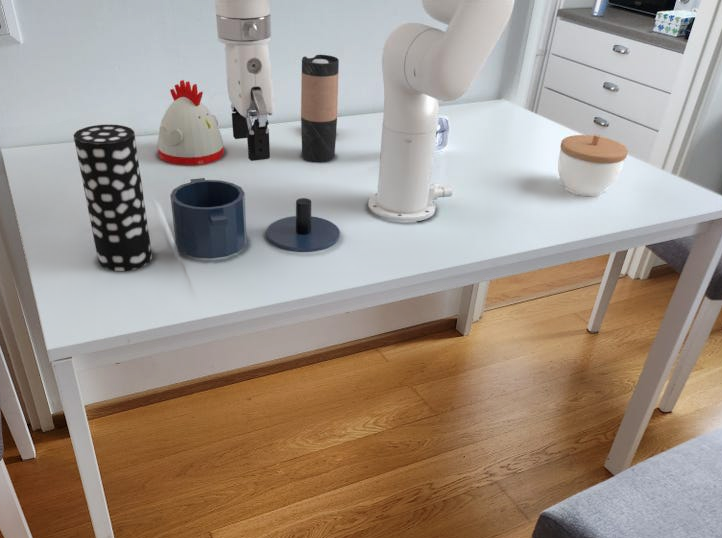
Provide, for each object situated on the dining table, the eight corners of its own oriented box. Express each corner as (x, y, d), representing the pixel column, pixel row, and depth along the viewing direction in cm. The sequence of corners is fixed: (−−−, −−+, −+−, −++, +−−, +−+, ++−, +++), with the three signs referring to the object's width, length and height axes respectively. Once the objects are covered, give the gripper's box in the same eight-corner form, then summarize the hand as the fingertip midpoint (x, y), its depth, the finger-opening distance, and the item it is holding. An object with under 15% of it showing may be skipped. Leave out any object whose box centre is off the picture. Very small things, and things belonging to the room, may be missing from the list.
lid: (325, 218, 123) (326, 183, 119) (350, 249, 114) (352, 212, 110) (258, 226, 119) (257, 190, 115) (279, 259, 110) (278, 221, 106)
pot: (233, 219, 121) (230, 170, 116) (258, 263, 109) (256, 211, 103) (168, 227, 118) (162, 177, 112) (187, 273, 105) (181, 220, 100)
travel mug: (331, 164, 144) (335, 65, 132) (297, 160, 145) (297, 61, 133) (338, 152, 150) (342, 56, 138) (305, 148, 151) (306, 53, 139)
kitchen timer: (194, 170, 139) (187, 94, 130) (145, 155, 144) (135, 82, 135) (236, 151, 149) (232, 79, 140) (188, 138, 154) (182, 68, 145)
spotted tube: (156, 246, 112) (139, 125, 100) (146, 271, 105) (127, 144, 93) (105, 245, 112) (82, 123, 99) (92, 270, 105) (66, 143, 93)
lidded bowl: (560, 173, 145) (573, 121, 138) (620, 186, 140) (637, 133, 133) (543, 192, 136) (556, 137, 129) (606, 207, 131) (623, 151, 125)
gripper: (287, 40, 89) (290, 165, 100) (254, 14, 102) (260, 128, 113) (232, 44, 87) (240, 171, 98) (205, 17, 100) (215, 132, 111)
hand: (251, 148), depth 105 cm, fingers open, 9 cm apart
